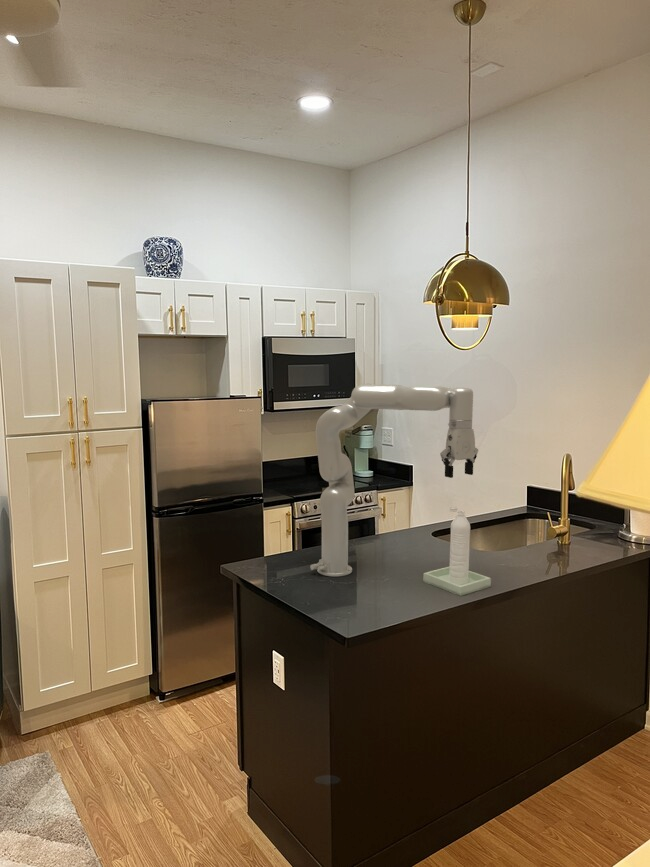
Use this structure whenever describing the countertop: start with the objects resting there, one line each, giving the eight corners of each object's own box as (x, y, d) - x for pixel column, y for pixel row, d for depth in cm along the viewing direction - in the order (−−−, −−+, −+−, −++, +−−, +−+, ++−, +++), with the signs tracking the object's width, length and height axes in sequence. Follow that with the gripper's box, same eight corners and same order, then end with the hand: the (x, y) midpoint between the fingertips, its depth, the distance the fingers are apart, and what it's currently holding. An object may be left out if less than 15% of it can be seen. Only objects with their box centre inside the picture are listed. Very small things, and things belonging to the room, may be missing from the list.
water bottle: (472, 584, 220) (474, 512, 217) (456, 587, 218) (458, 514, 214) (456, 576, 228) (459, 506, 225) (441, 578, 225) (443, 508, 222)
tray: (460, 596, 211) (460, 587, 211) (423, 581, 225) (423, 573, 225) (490, 586, 220) (490, 578, 220) (453, 573, 234) (453, 565, 234)
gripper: (450, 427, 208) (449, 480, 210) (486, 424, 218) (484, 474, 220) (433, 425, 214) (432, 476, 216) (469, 422, 225) (467, 471, 226)
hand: (458, 475), depth 218 cm, fingers open, 9 cm apart
